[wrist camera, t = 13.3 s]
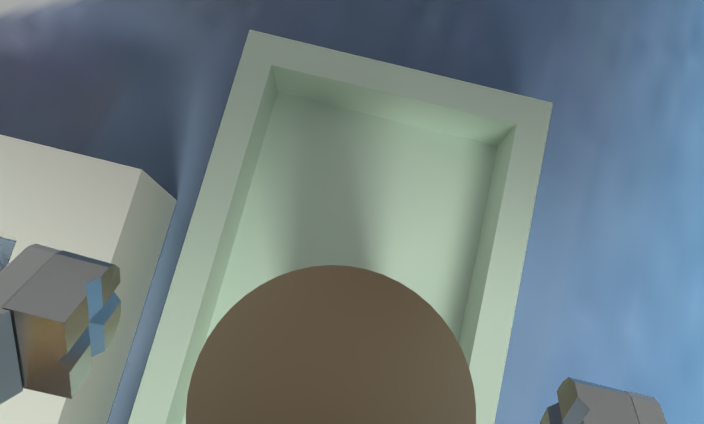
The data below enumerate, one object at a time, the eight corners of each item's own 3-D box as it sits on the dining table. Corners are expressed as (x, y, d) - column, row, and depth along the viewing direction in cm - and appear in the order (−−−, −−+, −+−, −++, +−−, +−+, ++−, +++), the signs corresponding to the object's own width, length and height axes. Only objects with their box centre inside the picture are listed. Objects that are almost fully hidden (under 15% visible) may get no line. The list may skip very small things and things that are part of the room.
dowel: (388, 323, 20) (500, 302, 7) (365, 423, 19) (442, 603, 6) (294, 299, 20) (232, 236, 7) (268, 398, 19) (147, 526, 6)
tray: (523, 134, 22) (553, 102, 19) (411, 713, 18) (427, 786, 15) (260, 70, 22) (249, 29, 19) (92, 630, 18) (47, 687, 15)
